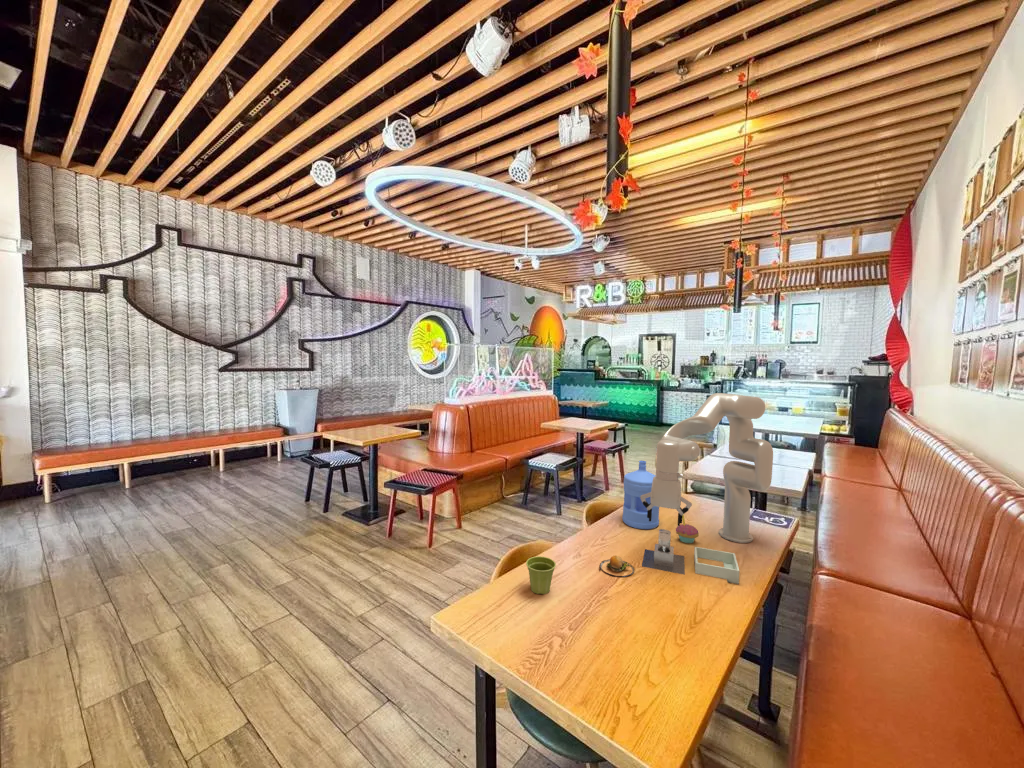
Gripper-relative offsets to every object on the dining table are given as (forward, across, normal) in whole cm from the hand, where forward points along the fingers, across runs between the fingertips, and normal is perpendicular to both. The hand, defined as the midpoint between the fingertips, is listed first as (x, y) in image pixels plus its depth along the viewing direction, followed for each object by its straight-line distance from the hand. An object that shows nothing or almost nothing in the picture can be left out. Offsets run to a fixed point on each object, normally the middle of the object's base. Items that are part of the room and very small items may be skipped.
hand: (664, 522), depth 150 cm
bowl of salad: (+16, +14, +11) cm, 25 cm away
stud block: (+16, 0, -1) cm, 16 cm away
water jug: (+15, +10, -36) cm, 40 cm away
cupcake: (+15, -8, -23) cm, 29 cm away
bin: (+15, -18, -3) cm, 23 cm away
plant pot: (+17, +36, +32) cm, 51 cm away
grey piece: (+14, 0, -1) cm, 15 cm away
